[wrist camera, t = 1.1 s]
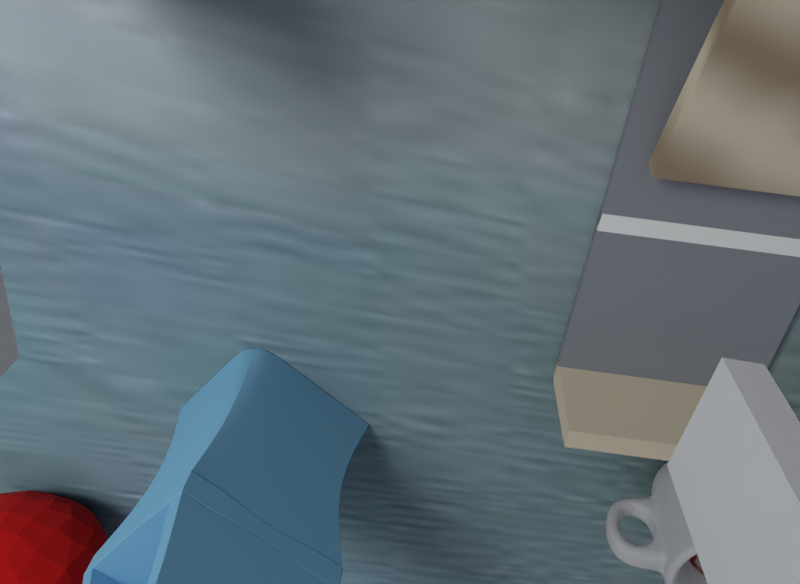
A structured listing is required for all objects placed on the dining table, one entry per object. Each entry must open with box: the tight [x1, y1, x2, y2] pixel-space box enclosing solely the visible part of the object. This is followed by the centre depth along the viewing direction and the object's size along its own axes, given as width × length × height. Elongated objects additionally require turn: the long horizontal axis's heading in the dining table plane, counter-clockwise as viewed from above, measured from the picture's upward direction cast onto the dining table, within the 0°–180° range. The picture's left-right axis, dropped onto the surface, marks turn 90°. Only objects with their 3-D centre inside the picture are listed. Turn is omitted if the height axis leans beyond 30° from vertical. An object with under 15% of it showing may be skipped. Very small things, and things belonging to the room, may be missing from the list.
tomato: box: [0, 491, 108, 584], centre depth 49 cm, size 13×12×11 cm
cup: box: [606, 461, 707, 584], centre depth 42 cm, size 11×8×8 cm
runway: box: [553, 0, 800, 461], centre depth 31 cm, size 30×12×6 cm, turn 174°
